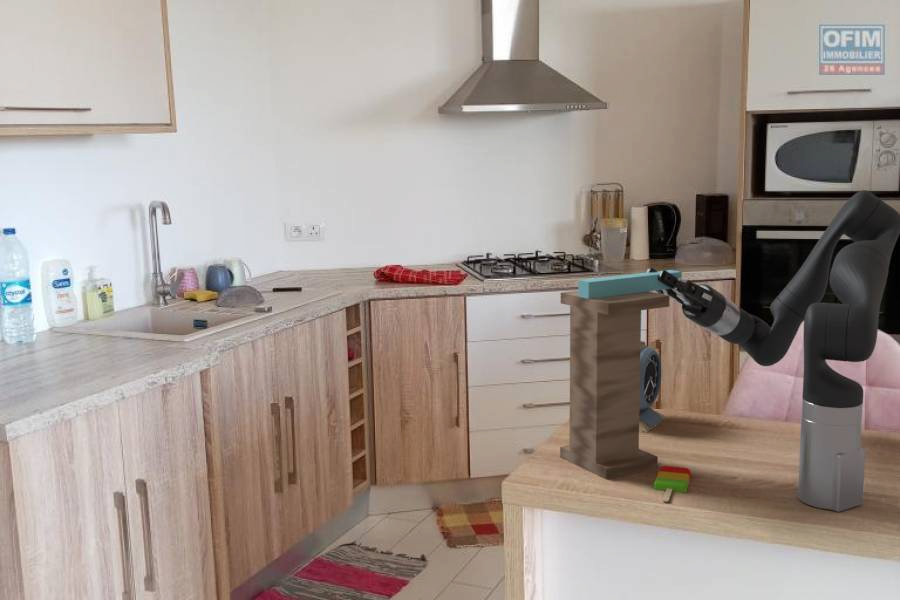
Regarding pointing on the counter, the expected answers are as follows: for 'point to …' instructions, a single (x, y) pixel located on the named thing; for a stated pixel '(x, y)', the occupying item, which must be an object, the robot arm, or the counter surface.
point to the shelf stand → (607, 382)
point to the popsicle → (672, 480)
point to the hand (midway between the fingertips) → (654, 273)
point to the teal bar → (622, 284)
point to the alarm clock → (649, 387)
